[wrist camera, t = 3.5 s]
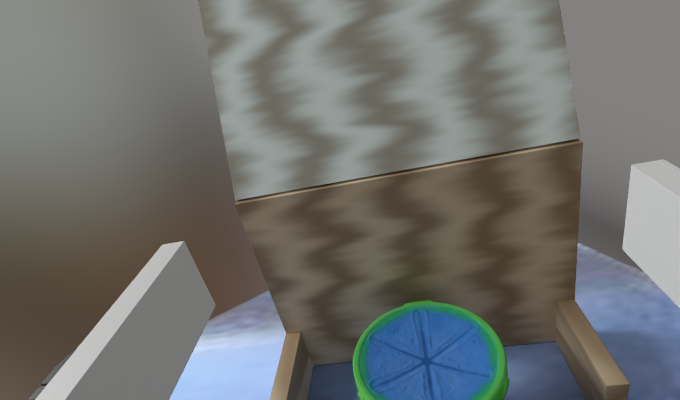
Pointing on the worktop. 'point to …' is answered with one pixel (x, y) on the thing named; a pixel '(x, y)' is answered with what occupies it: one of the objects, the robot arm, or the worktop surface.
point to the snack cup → (430, 356)
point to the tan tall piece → (406, 169)
